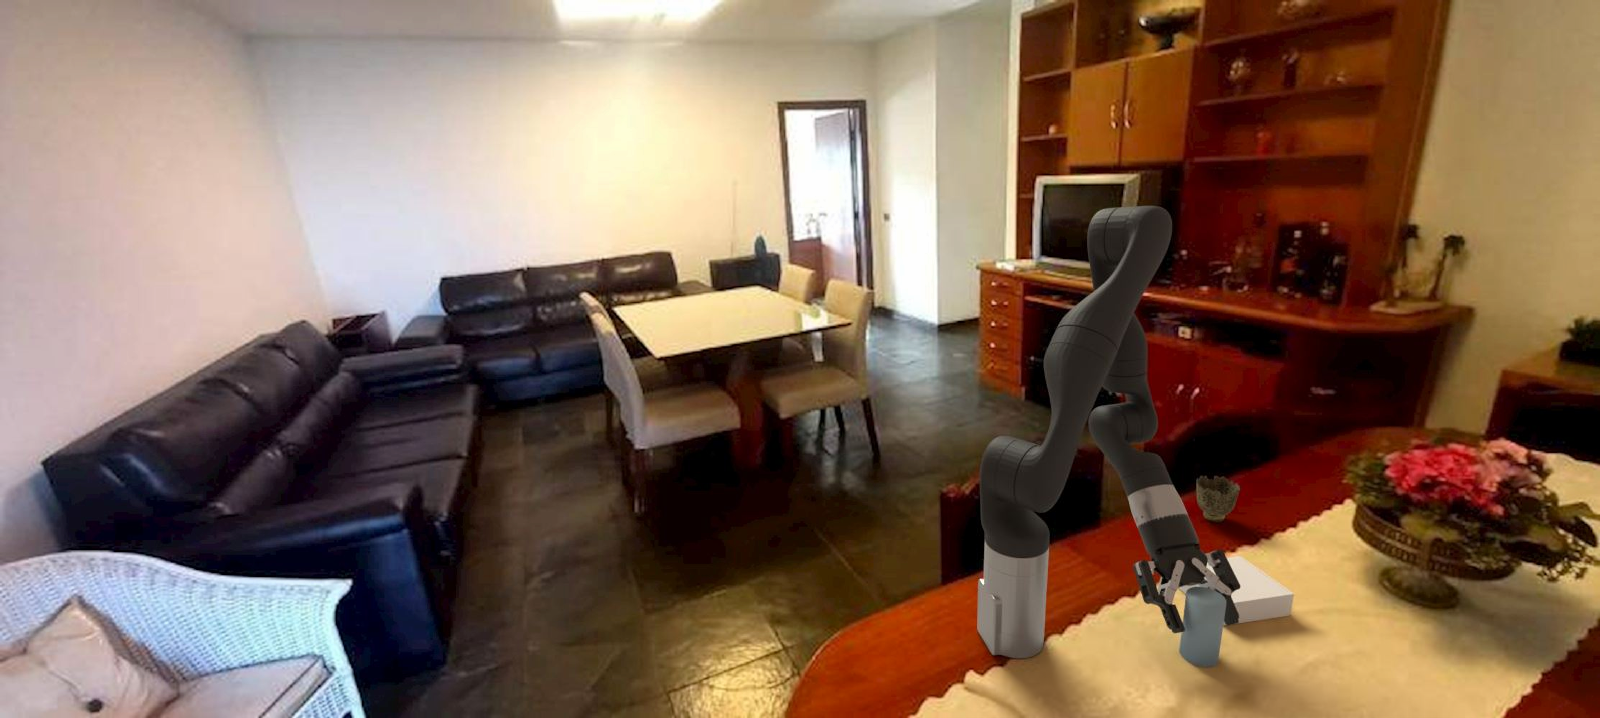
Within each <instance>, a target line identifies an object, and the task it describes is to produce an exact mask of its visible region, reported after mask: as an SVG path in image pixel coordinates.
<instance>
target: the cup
mask: <svg viewBox="0 0 1600 718" xmlns="http://www.w3.org/2000/svg"><path fill="white" fill-rule="evenodd" d="M1195 481H1196V501H1197V505H1198V507H1199V508H1200V510H1202V511H1203V513H1202V514H1203V517H1204V518H1205V519H1206V520H1207V521H1211V522H1214V523H1220V522H1222V521H1224V520H1225V516H1226V515H1229V514H1230V513H1232V511H1233V510H1234V508H1235V506H1236V503H1237V499H1238V497H1239V493H1240V491H1241V487H1240V485H1239V483H1235V482H1234V480H1230V481H1229V479H1227V478H1226V477H1225V476H1222V477H1219V476H1217V475H1215V476H1214V477H1213V478H1208V476H1207V475H1200V476H1199V478H1198V477H1197V478H1196V480H1195Z"/></svg>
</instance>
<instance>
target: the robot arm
mask: <svg viewBox="0 0 1600 718" xmlns="http://www.w3.org/2000/svg"><path fill="white" fill-rule="evenodd" d="M1172 233H1173V221H1172V217H1171V214H1170V213H1169V211H1167V209H1165V208H1163V207H1161V206H1155V205H1141V206H1140V205H1139V206H1138V205H1137V206H1136V205H1135V206H1122V207H1121V206H1120V207H1107V208H1102V209H1100V210H1099V211H1097V212H1096V213H1095V214H1094V215H1093V217H1092V218H1091V220H1090V222H1089V224H1088V230H1087V235H1086V236H1087V237H1086V238H1087V242H1086V243H1087V245H1086V246H1087V253H1088V254H1087V255H1088V263H1089V264H1088V265H1089V270H1090V276H1091V277H1090V278H1091V283H1092V289H1093V292H1092V293H1090V294H1089V295H1087V296H1086V297H1085V298H1083V299H1082V300H1081V301H1080V302H1079V303H1077V304H1076V305H1075V306H1073V308H1071V309H1070V310H1069V311H1068V312H1067V313H1066V314H1064V316H1063V317H1062V319H1061V320H1060V322H1059V324H1058V325H1057V326H1056V329H1055V332H1054V334H1053V335H1052V337H1051V340H1050V342H1049V344H1048V346H1047V348H1046V351H1045V353H1044V357H1043V370H1044V377H1045V381H1046V382H1045V383H1046V387H1047V390H1048V391H1047V392H1048V395H1049V401H1050V408H1051V418H1050V423H1049V428H1048V430H1047V433H1046V437H1044V441H1043V443H1042V444H1041V445H1040V444H1037V443H1034V442H1030V441H1027V440H1023V439H1020V438H1016V437H1013V436H1009V435H998V436H997V437H995V438H993V439H992V440H991V441H990V442H989V443H988V445H987V446H986V448H985V450H984V452H983V455H982V458H981V463H980V469H979V495H980V496H979V498H980V499H979V500H980V522H981V526H982V528H983V532H984V551H983V552H984V553H983V554H984V555H983V557H984V558H983V578H979V579H978V581H977V583H978V584H977V622H976V623H977V625H976V626H977V627H976V628H977V630H976V631H977V632H978V633H979V635H980V637H981V639H982V640H983V642H984V643H985V645H986V647H987V648H988V650H989V652H990V653H991V655H992V656H997V655H999V656H1000V655H1001V656H1003V657H1008V658H1012V659H1027V658H1031V657H1032V658H1033V657H1034V656H1036V655H1038V654H1039V653H1040V652H1041V651H1042V649H1043V647H1044V639H1045V623H1046V605H1047V604H1046V603H1047V590H1048V589H1047V588H1048V585H1047V584H1048V571H1049V570H1048V569H1049V553H1050V552H1049V551H1050V529H1049V526H1048V525H1047V524H1046V522H1045V521H1044V520H1043V519H1042V518H1041V517H1040V516H1039V515H1037V514H1036V513H1039V514H1041V513H1046V512H1048V511H1050V510H1051V509H1052V508H1053V507H1054V506H1055V504H1056V503H1057V502H1058V501H1059V498H1060V497H1061V494H1062V492H1063V491H1064V488H1065V486H1066V483H1067V480H1068V478H1069V475H1070V473H1071V469H1072V466H1073V462H1074V459H1075V457H1076V452H1077V451H1078V448H1079V445H1080V442H1081V438H1082V435H1083V433H1084V429H1085V427H1086V425H1087V422H1088V430H1089V433H1090V436H1091V438H1092V439H1093V442H1094V443H1095V444H1096V446H1097V447H1098V449H1099V450H1100V451H1101V452H1102V454H1103V455H1104V456H1105V458H1106V459H1107V461H1108V462H1109V463H1110V465H1111V467H1113V469H1114V470H1115V472H1116V473H1117V475H1118V477H1119V479H1120V482H1121V484H1122V487H1123V490H1124V492H1125V494H1126V497H1127V500H1128V502H1129V507H1130V508H1129V509H1130V511H1131V514H1132V517H1133V521H1134V522H1135V524H1136V527H1137V530H1138V532H1139V534H1140V537H1141V540H1142V542H1143V545H1144V548H1145V550H1146V552H1147V554H1149V556H1150V561H1148V560H1146V559H1143V560H1140V561H1137V562H1135V563H1133V565H1132V569H1133V571H1134V574H1135V578H1136V581H1137V583H1138V588H1139V590H1140V593H1141V595H1142V600H1143V602H1144V603H1145V604H1147V605H1154V606H1157V607H1158V608H1159V609H1160V611H1161V614H1162V616H1163V618H1164V621H1165V624H1166V626H1167V628H1168V630H1171V632H1172V633H1174V634H1178V633H1181V632H1184V631H1185V627H1184V625H1183V619H1182V618H1181V616H1180V613H1179V610H1178V608H1177V605H1176V604H1173V602H1174V598H1175V595H1176V592H1177V591H1178V589H1179V587H1183V586H1185V585H1187V586H1192V585H1196V584H1198V585H1199V586H1200V587H1205V588H1209V589H1212V590H1214V591H1216V592H1218V593H1220V594H1221V595H1222V596H1224V598H1225V599H1226V609H1225V616H1224V622H1225V624H1226V625H1225V626H1231V625H1236V624H1237V623H1238V624H1240V623H1239V620H1238V619H1239V614H1238V611H1237V609H1236V607H1235V605H1234V602H1233V600H1232V598H1231V594H1232V593H1233V592H1234V591H1236V590H1238V589H1240V584H1239V582H1238V580H1237V578H1236V576H1235V574H1234V572H1233V570H1232V568H1231V566H1230V564H1229V562H1228V560H1227V558H1228V557H1227V556H1226V554H1225V552H1224V551H1223V550H1222V549H1216V550H1213V551H1211V552H1207V553H1204V551H1203V550H1202V549H1201V547H1200V540H1199V537H1198V534H1197V533H1196V530H1195V528H1194V525H1193V523H1192V521H1191V519H1190V517H1189V514H1188V512H1187V509H1186V507H1185V504H1184V503H1183V501H1182V498H1181V497H1180V494H1179V493H1178V491H1177V490H1176V488H1175V485H1174V484H1173V482H1172V479H1171V477H1170V475H1169V472H1168V470H1167V467H1166V465H1165V463H1164V461H1163V459H1162V457H1161V456H1160V455H1159V454H1156V453H1153V452H1147V451H1141V450H1138V449H1136V448H1134V447H1133V445H1134V444H1143V443H1147V442H1149V441H1151V440H1152V439H1153V438H1154V437H1155V435H1156V433H1157V431H1158V427H1159V420H1158V416H1157V412H1156V408H1155V405H1154V402H1153V398H1152V394H1151V391H1150V390H1151V389H1150V386H1149V383H1148V342H1147V337H1146V333H1145V331H1144V328H1143V326H1142V324H1141V322H1140V320H1139V318H1138V317H1137V316H1136V313H1135V311H1136V310H1137V307H1138V305H1139V303H1140V301H1141V299H1142V297H1143V295H1144V293H1145V291H1146V290H1147V288H1148V286H1149V285H1150V284H1151V282H1152V280H1153V277H1154V276H1155V274H1156V272H1157V270H1158V269H1159V267H1160V265H1161V263H1162V262H1163V260H1164V257H1165V256H1166V253H1167V251H1168V249H1169V245H1170V243H1171V242H1170V241H1171V239H1172ZM1102 388H1103V389H1104V390H1106V391H1108V392H1111V393H1117V394H1124V396H1125V400H1126V401H1125V402H1121V403H1113V404H1106V405H1100V406H1097V407H1095V408H1094V409H1093V407H1094V405H1095V402H1096V400H1097V398H1098V395H1099V393H1100V391H1101V389H1102ZM1092 409H1093V410H1092ZM1207 562H1208V565H1209V566H1211V567H1212V568H1213V570H1214V572H1215V574H1216V575H1215V574H1214V573H1213V572H1212V571H1210V570H1209V569H1208V568H1207ZM1154 572H1155V573H1157V575H1159V576H1160V579H1159V583H1158V586H1157V585H1156V581H1155V579H1154V576H1153V575H1154ZM1204 577H1205V578H1204ZM1238 624H1237V625H1238Z"/></svg>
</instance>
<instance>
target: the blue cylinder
mask: <svg viewBox="0 0 1600 718" xmlns="http://www.w3.org/2000/svg"><path fill="white" fill-rule="evenodd" d="M1184 599H1185V600H1184V607H1183V608H1184V609H1183V617H1182V622H1183V625H1184V627H1185V631H1184V632H1180V633H1181V635H1180V642H1179V648H1178V649H1179V654H1180V655H1181V657H1182V658H1183V659H1184V660H1185V661H1187V662H1188V663H1190V664H1192V665H1195V666H1197V667H1202V668H1212V667H1215V666H1217V665H1218V663H1219V660H1220V659H1219V658H1220V652H1221V651H1220V650H1221V644H1222V637H1223V636H1222V635H1223V629H1224V626H1223V624H1224V616H1225V609H1226V599H1225V598H1224V596H1222V595H1221V594H1220V593H1218V592H1216V591H1214V590H1212V589H1209V588H1205V587H1192V588H1189V589H1188V590H1187V591H1186V594H1185V598H1184Z"/></svg>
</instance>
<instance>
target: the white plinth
mask: <svg viewBox="0 0 1600 718" xmlns="http://www.w3.org/2000/svg"><path fill="white" fill-rule="evenodd" d="M1226 558H1227V560H1228V562H1229V564H1230V566H1231V568H1232V570H1233V572H1234V574H1235V576H1236V578H1237V580H1238V582H1239V584H1240V589H1238V590H1236V591H1234V592H1233V593H1232V594H1231V598H1232V600H1233V602H1234V605H1235V607H1236V609H1237V611H1238V614H1239V619H1238V620H1239V623H1237V625H1238V624H1243V623H1250V622H1258V621H1263V620H1268V619H1276V618H1281V617H1283V618H1284V617H1289V616H1291V614H1292V609H1293V602H1294V596H1295V593H1294V592H1292V591H1291V590H1289V589H1288V588H1286V587H1285V586H1284V585H1282V584H1281V583H1279V582H1278V581H1276V580H1275V579H1274V578H1272V577H1271V576H1269V575H1268V574H1266V573H1265V572H1264V571H1262V570H1261V569H1260V568H1258V567H1257V566H1255V565H1253V563H1251V562H1249V561H1248V560H1247V559H1245V558H1244V557H1242V556H1241V555H1237V556H1230V557H1226ZM1207 568H1208V569H1209V570H1210V571H1212V572H1213V573H1214V574H1215V572H1214V570H1213V568H1212V567H1211V566H1209V565H1208V562H1207ZM1215 575H1216V574H1215ZM1204 578H1205V577H1204ZM1192 587H1200V586H1199V585H1198V584H1196V585H1192V586H1187V585H1185V586H1183V587H1179V588H1178V589H1179V590H1180V591H1181V592H1182V593H1183V594H1185V595H1186V591H1187V590H1188V589H1189V588H1192ZM1224 626H1227V625H1226V624H1225V622H1224V624H1223V627H1224Z"/></svg>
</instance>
